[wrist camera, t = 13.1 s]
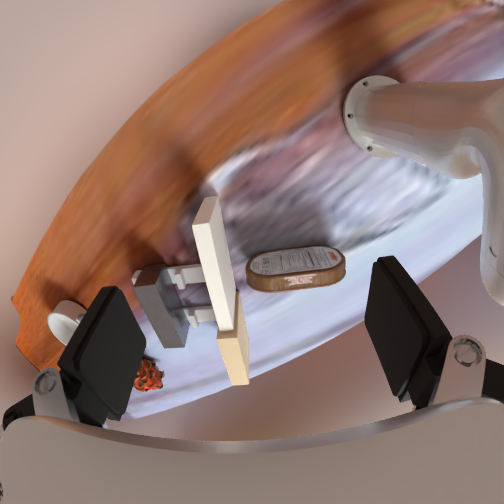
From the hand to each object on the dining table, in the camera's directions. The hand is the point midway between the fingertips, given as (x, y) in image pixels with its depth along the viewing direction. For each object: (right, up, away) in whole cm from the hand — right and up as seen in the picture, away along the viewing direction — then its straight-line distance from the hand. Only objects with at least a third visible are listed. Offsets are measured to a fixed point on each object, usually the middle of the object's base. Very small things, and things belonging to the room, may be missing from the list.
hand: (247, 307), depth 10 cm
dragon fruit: (-25, -25, +49) cm, 60 cm away
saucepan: (-36, -10, +41) cm, 55 cm away
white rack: (-11, -4, +37) cm, 39 cm away
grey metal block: (-15, -6, +37) cm, 41 cm away
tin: (+7, +2, +34) cm, 35 cm away
